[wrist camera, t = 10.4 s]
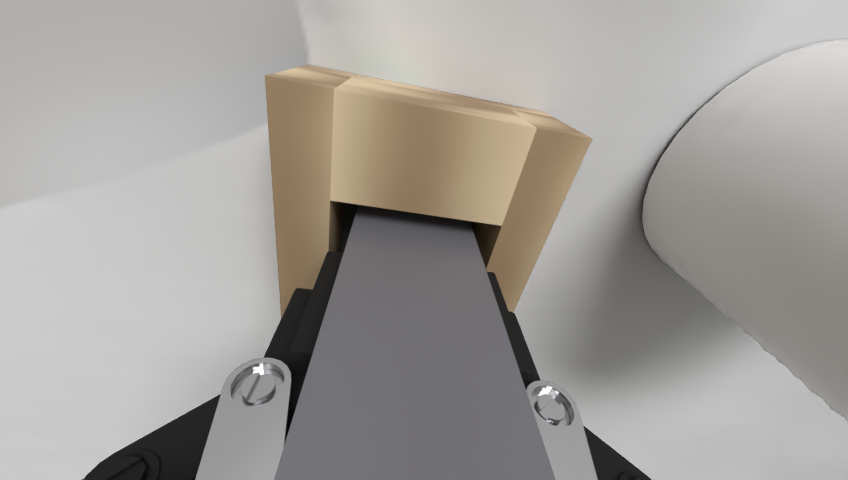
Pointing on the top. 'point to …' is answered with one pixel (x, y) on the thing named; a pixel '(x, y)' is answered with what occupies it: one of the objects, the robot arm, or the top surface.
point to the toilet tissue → (767, 211)
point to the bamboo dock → (411, 168)
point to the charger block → (413, 365)
